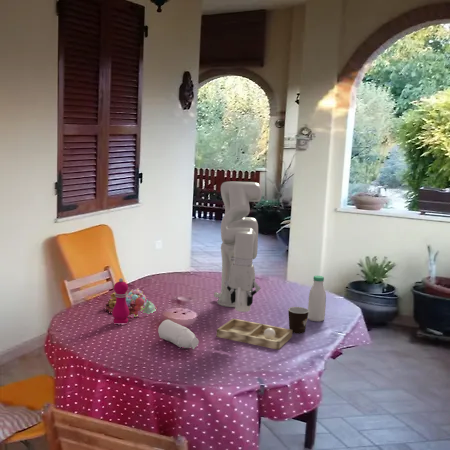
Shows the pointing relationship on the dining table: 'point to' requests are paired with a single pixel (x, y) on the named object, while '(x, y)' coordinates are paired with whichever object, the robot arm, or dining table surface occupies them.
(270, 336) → the stone egg
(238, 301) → the mug
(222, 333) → the caddy
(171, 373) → the dining table surface
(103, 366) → the dining table surface
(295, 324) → the coffee mug
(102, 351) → the dining table surface
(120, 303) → the pepper mill
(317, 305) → the milk bottle
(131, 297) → the candy landscape model
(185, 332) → the white plastic bottle
